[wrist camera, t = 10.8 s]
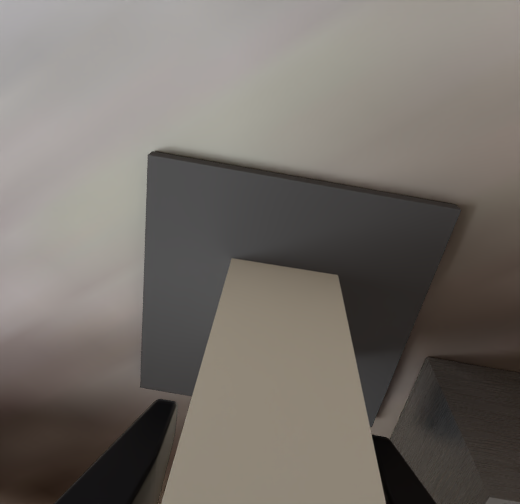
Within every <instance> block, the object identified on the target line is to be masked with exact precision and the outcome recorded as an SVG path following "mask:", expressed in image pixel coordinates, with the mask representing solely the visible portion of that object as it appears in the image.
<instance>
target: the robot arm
mask: <svg viewBox="0 0 520 504" xmlns="http://www.w3.org/2000/svg"><path fill="white" fill-rule="evenodd" d="M177 408H178V405H177V403H176V402H175V401H169V400H163V399H158V400H156V401H155V402H154V403H153V404H152V405H151V406H150V407H149V408H148V409H147V410H146V411H145V412H144V413H143V414H142V415H141V416H140V417H139V418H138V419H137V420H136V421H135V422H134V423H133V424H132V425H131V426H130V427H129V428H128V429H127V430H126V431H125V432H124V433H123V434H122V435H121V436H120V437H119V438H118V439H117V440H116V441H115V442H114V443H113V444H112V445H111V446H110V447H109V448H108V449H107V450H106V451H105V452H104V453H103V454H102V456H101V457H100V458H99V459H98V460H97V461H96V462H95V463H94V464H93V465H92V466H91V467H90V468H89V469H88V470H87V471H86V472H85V473H84V474H83V475H82V476H81V477H80V478H79V479H78V480H77V481H76V482H75V483H74V484H73V485H72V486H71V487H70V488H69V489H68V490H67V491H66V492H65V493H64V494H63V495H62V496H61V497H60V498H59V499H58V500H57V501H56V502H55V503H54V504H158V500H159V496H160V492H161V488H162V484H163V480H164V476H165V472H166V468H167V464H168V460H169V456H170V453H171V449H172V445H173V441H174V436H175V430H176V419H177ZM372 439H373V444H374V449H375V454H376V458H377V463H378V468H379V473H380V477H381V482H382V487H383V492H384V496H385V501H386V504H436V502H435V501H434V500H433V498H432V497H431V495H430V494H429V493H428V491H427V490H426V489H425V487H424V486H423V484H422V483H421V482H420V480H419V479H418V477H417V476H416V475H415V473H414V472H413V471H412V469H411V468H410V466H409V465H408V464H407V462H406V461H405V459H404V458H403V457H402V455H401V454H400V453H399V451H398V450H397V448H396V447H395V446H394V444H393V443H392V442H391V440H389V439H388V438H386V437H382V436H376V435H372Z"/></svg>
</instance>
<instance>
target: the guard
mask: <svg viewBox="0 0 520 504" xmlns="http://www.w3.org/2000/svg"><path fill="white" fill-rule="evenodd" d="M390 440H391V442H392V443H393V444H394V446H395V447H396V448H397V450H398V451H399V453H400V454H401V455H402V457H403V458H404V459H405V461H406V462H407V464H408V465H409V466H410V468H411V469H412V471H413V472H414V473H415V475H416V476H417V477H418V479H419V480H420V482H421V483H422V484H423V486H424V487H425V489H426V490H427V491H428V493H429V494H430V495H431V497H432V498H433V500H434V501H435V502H436V504H520V373H517V372H511V371H505V370H500V369H494V368H488V367H482V366H476V365H471V364H465V363H459V362H453V361H447V360H442V359H436V358H430V357H427V359H426V361H425V363H424V365H423V367H422V370H421V372H420V374H419V376H418V378H417V381H416V383H415V385H414V387H413V390H412V392H411V394H410V396H409V398H408V401H407V403H406V405H405V407H404V409H403V412H402V414H401V416H400V418H399V421H398V423H397V425H396V427H395V429H394V432H393V434H392V436H391V438H390Z"/></svg>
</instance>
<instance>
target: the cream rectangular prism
mask: <svg viewBox="0 0 520 504" xmlns="http://www.w3.org/2000/svg"><path fill="white" fill-rule="evenodd" d="M161 504H386V501H385V496H384V492H383V487H382V482H381V477H380V473H379V468H378V463H377V458H376V454H375V449H374V444H373V439H372V435H371V430H370V425H369V420H368V416H367V411H366V406H365V401H364V396H363V392H362V387H361V382H360V377H359V373H358V368H357V363H356V358H355V354H354V349H353V344H352V339H351V335H350V330H349V325H348V320H347V315H346V311H345V306H344V301H343V296H342V292H341V287H340V282H339V277H338V275H335V274H328V273H322V272H316V271H309V270H303V269H297V268H291V267H284V266H278V265H272V264H265V263H259V262H253V261H246V260H240V259H234V258H232V259H231V262H230V266H229V269H228V273H227V276H226V280H225V283H224V287H223V290H222V294H221V297H220V301H219V304H218V308H217V311H216V315H215V318H214V322H213V325H212V329H211V332H210V336H209V339H208V343H207V346H206V349H205V353H204V356H203V360H202V363H201V367H200V370H199V374H198V377H197V381H196V384H195V388H194V391H193V395H192V398H191V402H190V405H189V409H188V412H187V416H186V419H185V423H184V426H183V430H182V433H181V437H180V440H179V443H178V447H177V450H176V454H175V457H174V461H173V464H172V468H171V471H170V475H169V478H168V482H167V485H166V489H165V492H164V496H163V499H162V503H161Z"/></svg>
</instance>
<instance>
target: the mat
mask: <svg viewBox="0 0 520 504" xmlns="http://www.w3.org/2000/svg"><path fill="white" fill-rule="evenodd" d="M460 212H461V209H460V208H459V207H457V206H456V205H455V204H449V203H444V202H438V201H432V200H427V199H421V198H415V197H409V196H404V195H398V194H392V193H387V192H381V191H375V190H370V189H364V188H358V187H353V186H347V185H341V184H336V183H330V182H324V181H319V180H313V179H307V178H302V177H296V176H290V175H285V174H279V173H273V172H267V171H262V170H256V169H250V168H245V167H239V166H233V165H228V164H222V163H216V162H211V161H205V160H199V159H194V158H188V157H182V156H177V155H171V154H165V153H160V152H154V151H153V152H151V153H150V154H148V168H147V199H146V229H145V260H144V290H143V321H142V351H141V382H140V388H146V389H152V390H158V391H164V392H170V393H176V394H181V395H187V396H192V395H193V391H194V388H195V384H196V381H197V377H198V374H199V370H200V367H201V363H202V360H203V356H204V353H205V349H206V346H207V343H208V339H209V336H210V332H211V329H212V325H213V322H214V318H215V315H216V311H217V308H218V304H219V301H220V297H221V294H222V290H223V287H224V283H225V280H226V276H227V273H228V269H229V266H230V262H231V259H232V258H234V259H240V260H246V261H253V262H259V263H265V264H272V265H278V266H284V267H291V268H297V269H303V270H309V271H316V272H322V273H328V274H335V275H338V277H339V282H340V287H341V292H342V296H343V301H344V306H345V311H346V315H347V320H348V325H349V330H350V335H351V339H352V344H353V349H354V354H355V358H356V363H357V368H358V373H359V377H360V382H361V387H362V392H363V396H364V401H365V406H366V411H367V416H368V420H369V425H370V427H372V425H373V423H374V420H375V418H376V415H377V413H378V411H379V408H380V406H381V403H382V401H383V398H384V396H385V394H386V391H387V389H388V386H389V384H390V382H391V379H392V377H393V374H394V372H395V369H396V367H397V365H398V362H399V360H400V357H401V355H402V352H403V350H404V348H405V345H406V343H407V340H408V338H409V335H410V333H411V331H412V328H413V326H414V323H415V321H416V318H417V316H418V314H419V311H420V309H421V306H422V304H423V301H424V299H425V297H426V294H427V292H428V289H429V287H430V284H431V282H432V280H433V277H434V275H435V272H436V270H437V268H438V265H439V263H440V260H441V258H442V255H443V253H444V251H445V248H446V246H447V243H448V241H449V238H450V236H451V234H452V231H453V229H454V226H455V224H456V221H457V219H458V217H459V214H460Z"/></svg>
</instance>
